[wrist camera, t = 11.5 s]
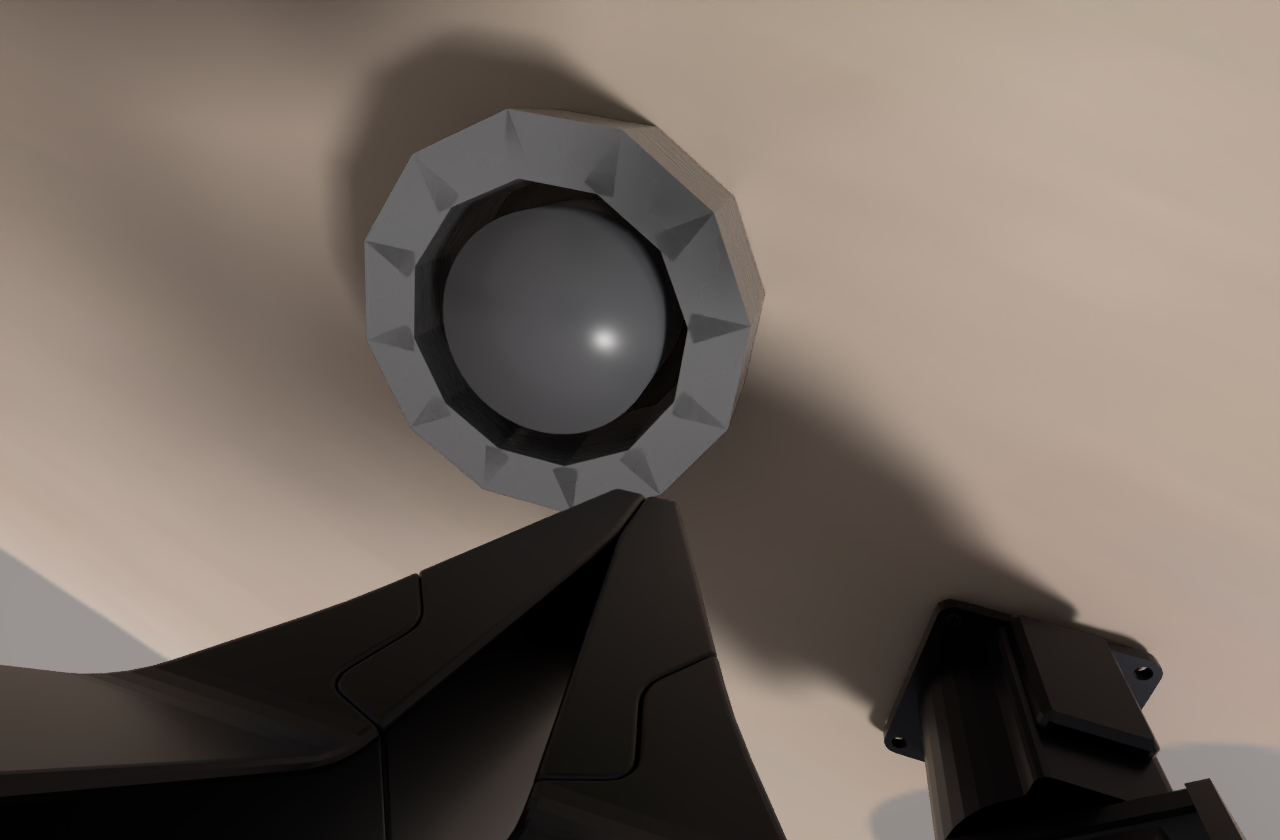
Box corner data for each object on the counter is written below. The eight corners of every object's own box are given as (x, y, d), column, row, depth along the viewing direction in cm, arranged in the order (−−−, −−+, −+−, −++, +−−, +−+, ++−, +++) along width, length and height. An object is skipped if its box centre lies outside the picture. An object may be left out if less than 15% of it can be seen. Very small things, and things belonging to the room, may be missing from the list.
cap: (654, 418, 22) (626, 463, 19) (483, 359, 23) (429, 393, 20) (709, 233, 20) (687, 250, 17) (516, 173, 21) (460, 179, 18)
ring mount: (719, 491, 23) (700, 550, 20) (428, 414, 25) (368, 457, 22) (797, 152, 18) (789, 159, 15) (434, 87, 20) (360, 82, 17)
